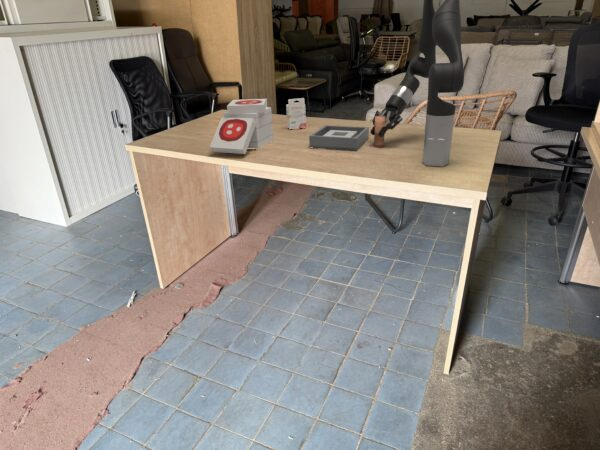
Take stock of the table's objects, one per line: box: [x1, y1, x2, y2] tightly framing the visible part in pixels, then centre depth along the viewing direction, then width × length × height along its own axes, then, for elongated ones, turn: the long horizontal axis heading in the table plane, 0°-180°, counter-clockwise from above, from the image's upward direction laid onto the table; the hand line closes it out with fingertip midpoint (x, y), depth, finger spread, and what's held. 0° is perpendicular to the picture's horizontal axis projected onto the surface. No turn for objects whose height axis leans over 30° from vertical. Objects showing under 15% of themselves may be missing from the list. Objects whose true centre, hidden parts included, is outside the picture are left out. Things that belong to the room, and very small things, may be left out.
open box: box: [308, 124, 370, 152], centre depth 178 cm, size 20×20×5 cm
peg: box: [373, 115, 385, 149], centre depth 170 cm, size 4×4×12 cm
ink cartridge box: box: [285, 97, 307, 130], centre depth 204 cm, size 9×5×15 cm, turn 105°
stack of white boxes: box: [209, 98, 274, 155], centre depth 175 cm, size 19×30×18 cm, turn 158°
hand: (375, 134), depth 169 cm, fingers closed on peg, 4 cm apart
